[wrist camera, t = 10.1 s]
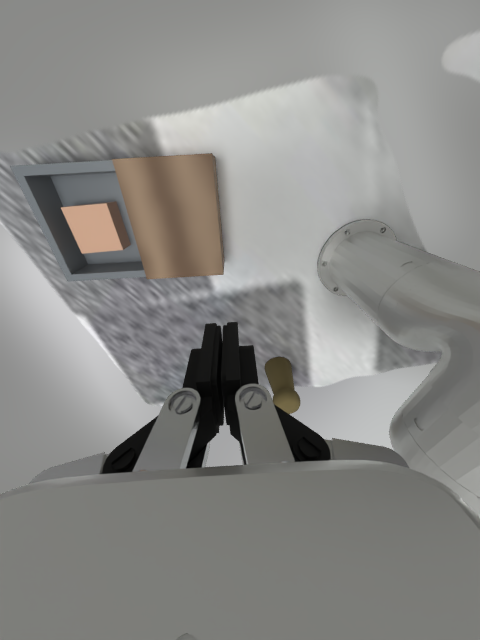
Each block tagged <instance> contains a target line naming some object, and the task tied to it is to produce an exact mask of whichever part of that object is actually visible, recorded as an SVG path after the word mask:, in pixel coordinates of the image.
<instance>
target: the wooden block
mask: <svg viewBox="0 0 480 640" xmlns="http://www.w3.org/2000/svg"><path fill="white" fill-rule="evenodd" d="M112 161H113V165H114V168H115V172H116V175H117V178H118V182H119V185H120V189H121V192H122V196H123V199H124V202H125V206H126V209H127V213H128V216H129V220H130V223H131V226H132V230H133V233H134V237H135V240H136V244H137V247H138V250H139V254H140V257H141V261H142V264H143V268H144V271H145V274H146V278H147V279H158V278H175V277H192V276H209V275H223V273H224V252H223V241H222V229H221V218H220V207H219V195H218V184H217V173H216V161H215V157H214V156H213V154H212V153H211V154H194V155H176V156H159V157H141V158H124V159H112Z"/></svg>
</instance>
